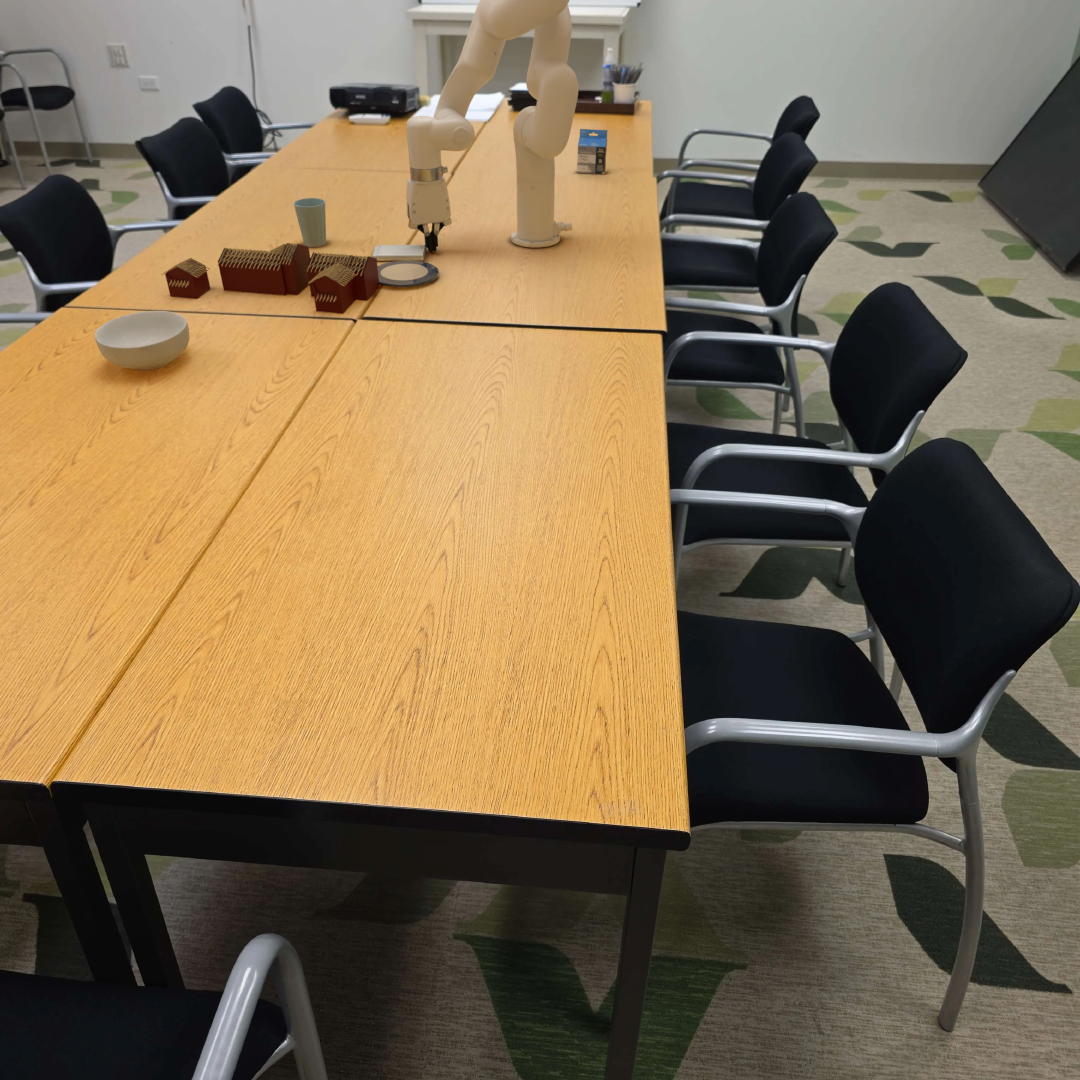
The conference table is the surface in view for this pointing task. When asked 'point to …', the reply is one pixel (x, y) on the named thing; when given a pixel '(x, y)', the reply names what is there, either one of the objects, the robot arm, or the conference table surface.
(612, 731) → the conference table surface
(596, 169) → the ink cartridge box
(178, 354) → the cereal bowl
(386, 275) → the plate
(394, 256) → the hard drive
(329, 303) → the toy houses
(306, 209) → the cup
